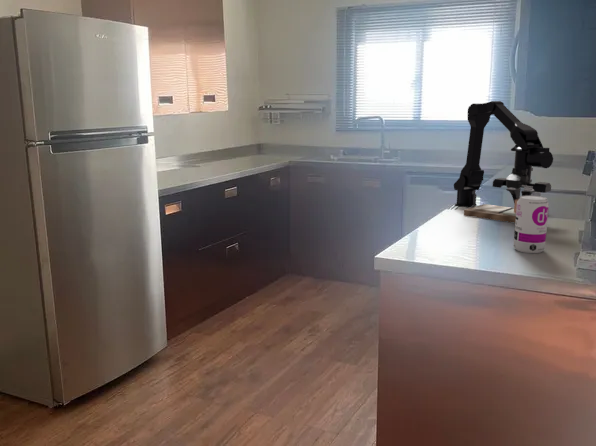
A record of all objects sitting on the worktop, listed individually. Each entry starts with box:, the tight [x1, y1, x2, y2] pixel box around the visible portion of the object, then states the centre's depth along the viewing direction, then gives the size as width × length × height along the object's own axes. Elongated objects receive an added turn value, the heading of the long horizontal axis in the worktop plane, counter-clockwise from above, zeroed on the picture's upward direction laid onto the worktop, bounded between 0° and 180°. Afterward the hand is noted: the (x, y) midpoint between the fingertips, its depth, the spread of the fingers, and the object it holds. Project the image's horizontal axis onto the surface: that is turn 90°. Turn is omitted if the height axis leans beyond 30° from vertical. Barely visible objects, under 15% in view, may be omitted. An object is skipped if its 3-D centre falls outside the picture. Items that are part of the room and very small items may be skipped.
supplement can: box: [512, 195, 550, 254], centre depth 165 cm, size 8×8×15 cm
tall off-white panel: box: [503, 199, 519, 216], centre depth 209 cm, size 6×11×5 cm, turn 137°
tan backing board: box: [463, 203, 516, 224], centre depth 213 cm, size 22×16×3 cm
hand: (519, 209), depth 209 cm, fingers closed on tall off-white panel
